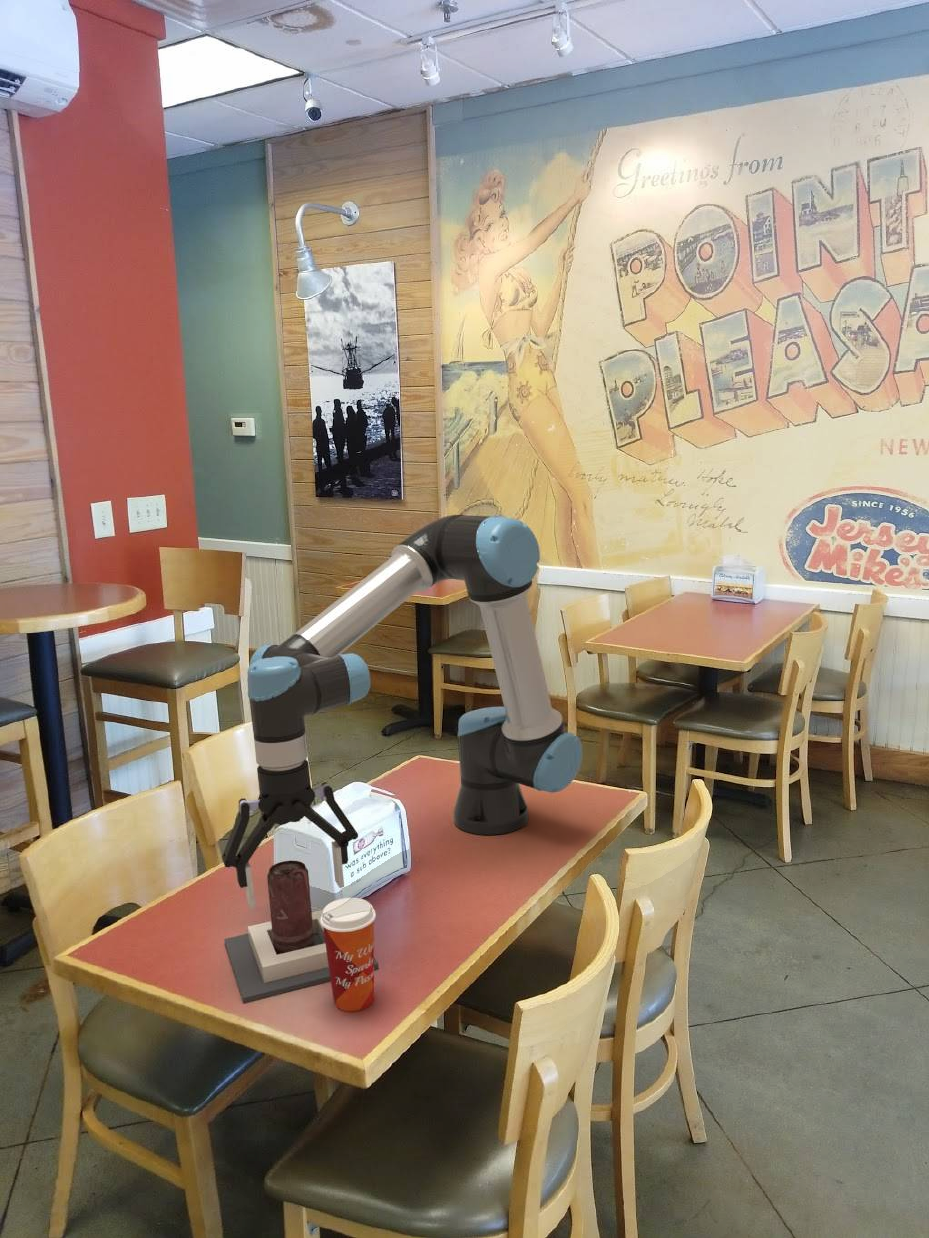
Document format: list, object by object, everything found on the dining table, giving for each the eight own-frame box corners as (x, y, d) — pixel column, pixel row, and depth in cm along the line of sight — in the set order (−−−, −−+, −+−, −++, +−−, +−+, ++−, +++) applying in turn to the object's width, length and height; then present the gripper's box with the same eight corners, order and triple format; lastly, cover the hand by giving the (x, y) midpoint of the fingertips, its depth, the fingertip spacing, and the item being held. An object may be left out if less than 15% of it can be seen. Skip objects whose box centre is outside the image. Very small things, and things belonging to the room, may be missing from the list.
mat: (346, 915, 161) (346, 910, 161) (378, 968, 144) (378, 963, 144) (224, 943, 154) (224, 938, 153) (243, 1003, 137) (242, 998, 137)
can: (307, 964, 145) (300, 877, 142) (268, 961, 146) (260, 875, 143) (322, 943, 151) (315, 859, 148) (283, 940, 152) (276, 857, 149)
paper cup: (343, 1023, 131) (336, 928, 129) (317, 998, 137) (309, 907, 135) (392, 1001, 136) (386, 909, 133) (364, 978, 142) (358, 890, 139)
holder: (329, 922, 157) (328, 908, 156) (350, 961, 145) (349, 946, 145) (249, 941, 152) (247, 926, 152) (264, 982, 140) (262, 967, 140)
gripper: (357, 740, 151) (368, 865, 155) (192, 770, 142) (209, 902, 146) (370, 754, 144) (381, 885, 148) (199, 786, 135) (216, 925, 139)
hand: (296, 894), depth 147 cm, fingers open, 13 cm apart
